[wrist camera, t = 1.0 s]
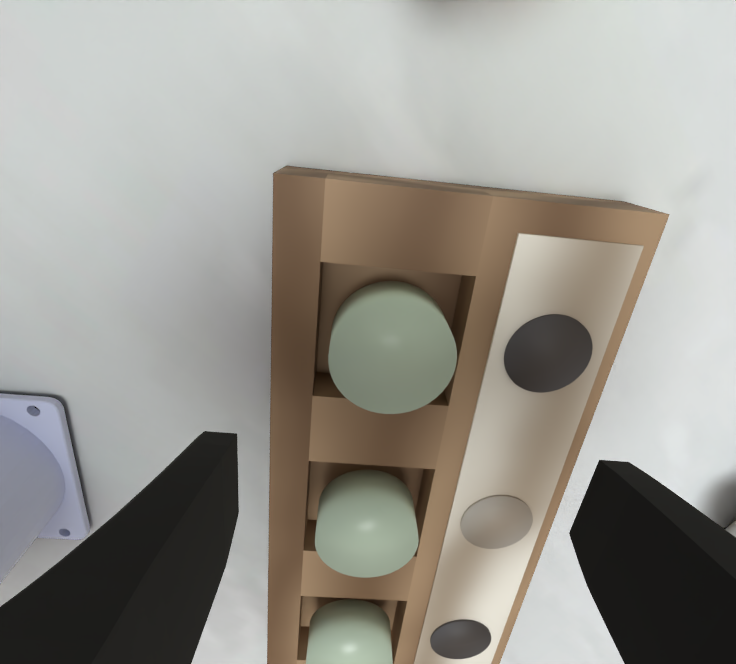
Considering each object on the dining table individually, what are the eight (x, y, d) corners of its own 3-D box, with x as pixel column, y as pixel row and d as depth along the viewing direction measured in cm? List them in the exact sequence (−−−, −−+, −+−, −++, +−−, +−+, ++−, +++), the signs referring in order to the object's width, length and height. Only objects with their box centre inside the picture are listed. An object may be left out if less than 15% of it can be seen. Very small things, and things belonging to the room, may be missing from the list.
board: (275, 637, 26) (266, 691, 24) (286, 165, 15) (271, 173, 13) (476, 646, 27) (488, 699, 24) (624, 202, 16) (673, 216, 13)
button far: (307, 648, 23) (303, 688, 21) (311, 597, 21) (307, 636, 20) (385, 651, 23) (387, 691, 22) (395, 601, 21) (397, 640, 20)
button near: (327, 380, 16) (324, 409, 15) (335, 275, 15) (332, 294, 13) (436, 389, 16) (444, 418, 15) (456, 286, 15) (468, 306, 13)
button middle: (316, 537, 20) (312, 575, 18) (321, 466, 18) (317, 500, 16) (406, 542, 20) (410, 579, 18) (419, 472, 18) (426, 507, 16)
